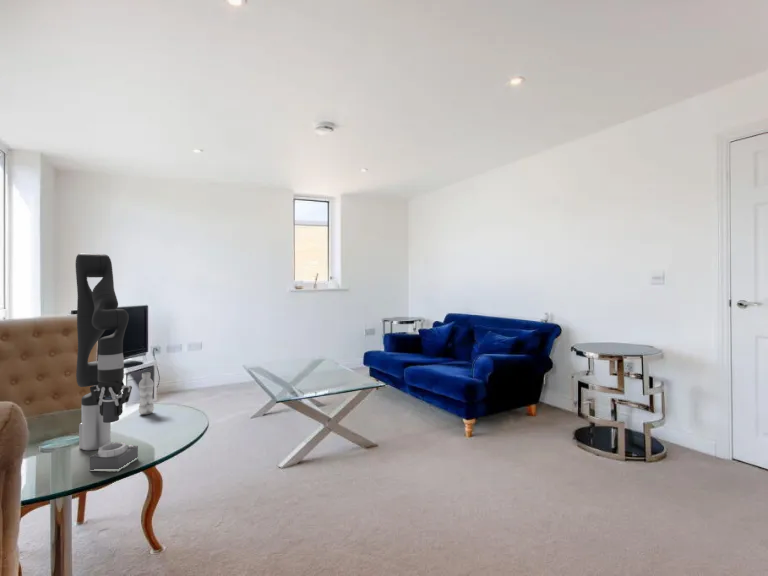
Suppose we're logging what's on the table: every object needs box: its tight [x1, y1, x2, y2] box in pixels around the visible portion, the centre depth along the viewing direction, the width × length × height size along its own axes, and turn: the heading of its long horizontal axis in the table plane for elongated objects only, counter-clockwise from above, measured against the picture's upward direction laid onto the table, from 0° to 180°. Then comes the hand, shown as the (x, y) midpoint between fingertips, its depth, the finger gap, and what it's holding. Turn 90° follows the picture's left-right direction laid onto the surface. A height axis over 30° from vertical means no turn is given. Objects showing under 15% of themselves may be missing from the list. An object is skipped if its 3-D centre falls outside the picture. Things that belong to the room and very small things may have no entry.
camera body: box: [89, 441, 139, 471], centre depth 141 cm, size 10×10×7 cm
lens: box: [103, 396, 120, 423], centre depth 139 cm, size 5×5×8 cm
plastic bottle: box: [138, 371, 155, 416], centre depth 195 cm, size 6×7×20 cm
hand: (111, 415), depth 140 cm, fingers closed on lens, 4 cm apart
